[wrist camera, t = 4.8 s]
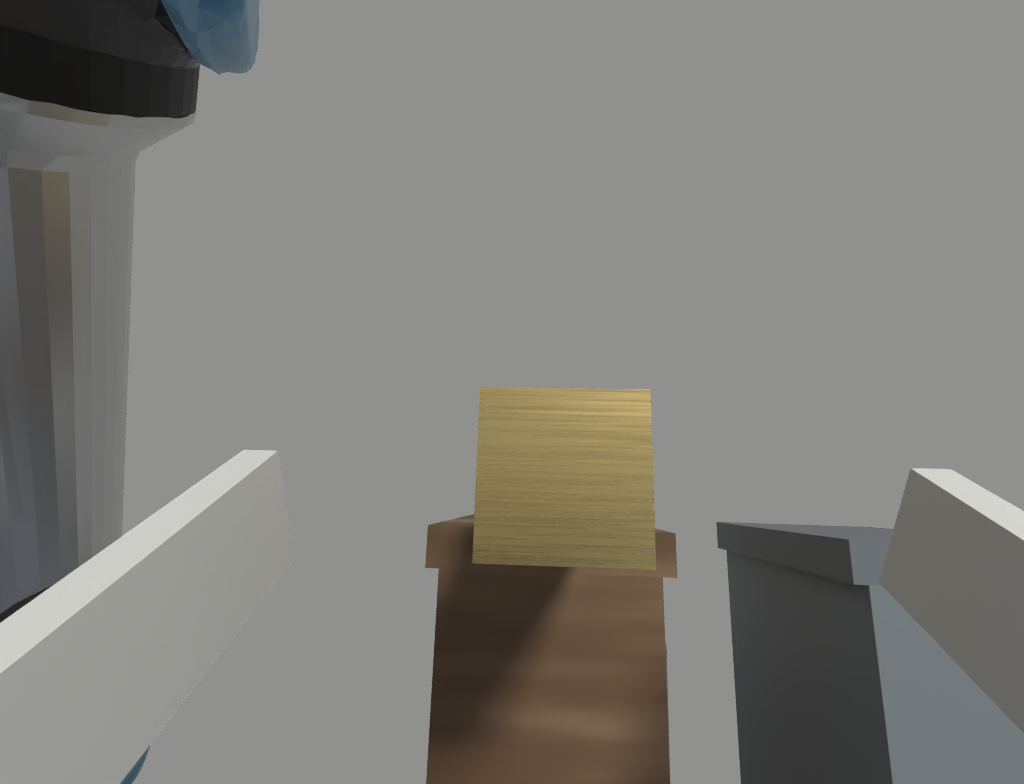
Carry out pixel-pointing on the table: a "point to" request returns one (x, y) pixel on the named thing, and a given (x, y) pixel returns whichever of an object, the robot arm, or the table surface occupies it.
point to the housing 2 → (848, 670)
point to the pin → (565, 478)
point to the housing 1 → (546, 669)
